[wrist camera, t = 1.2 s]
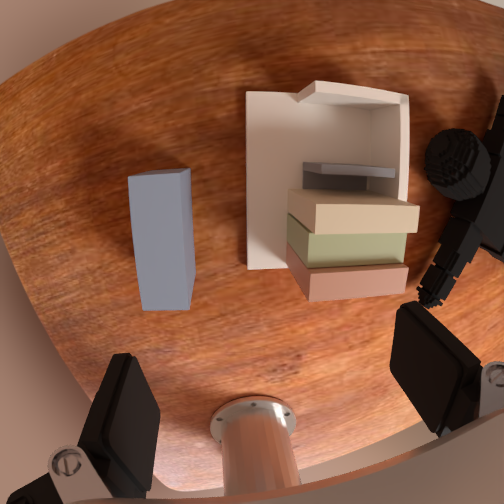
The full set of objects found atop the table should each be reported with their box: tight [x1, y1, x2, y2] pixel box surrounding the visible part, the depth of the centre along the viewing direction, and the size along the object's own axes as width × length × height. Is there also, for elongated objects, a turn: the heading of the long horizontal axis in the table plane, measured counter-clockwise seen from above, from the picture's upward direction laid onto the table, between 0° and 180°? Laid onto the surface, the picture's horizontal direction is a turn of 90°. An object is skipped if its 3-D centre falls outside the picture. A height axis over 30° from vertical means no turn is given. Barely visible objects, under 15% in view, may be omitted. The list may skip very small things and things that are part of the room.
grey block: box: [128, 168, 196, 310], centre depth 27 cm, size 4×11×8 cm, turn 0°
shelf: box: [246, 80, 420, 302], centre depth 26 cm, size 18×14×10 cm
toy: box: [416, 95, 504, 309], centre depth 32 cm, size 33×8×30 cm
